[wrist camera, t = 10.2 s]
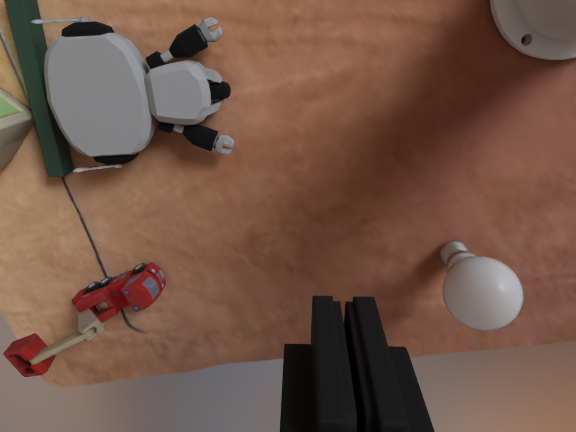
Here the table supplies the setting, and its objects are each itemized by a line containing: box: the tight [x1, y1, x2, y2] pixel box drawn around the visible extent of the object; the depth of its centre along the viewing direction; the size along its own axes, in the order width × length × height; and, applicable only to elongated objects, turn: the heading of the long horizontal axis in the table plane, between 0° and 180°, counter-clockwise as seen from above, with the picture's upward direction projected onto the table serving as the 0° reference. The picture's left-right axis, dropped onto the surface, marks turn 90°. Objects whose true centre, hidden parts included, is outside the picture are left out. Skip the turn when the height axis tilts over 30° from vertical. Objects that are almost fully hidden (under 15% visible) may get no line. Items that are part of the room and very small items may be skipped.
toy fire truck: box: [4, 263, 166, 377], centre depth 42 cm, size 3×14×10 cm, turn 113°
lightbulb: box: [440, 241, 523, 331], centre depth 38 cm, size 6×6×11 cm
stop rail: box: [5, 0, 74, 177], centre depth 36 cm, size 2×16×2 cm, turn 179°
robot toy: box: [31, 17, 234, 172], centre depth 35 cm, size 12×4×15 cm
